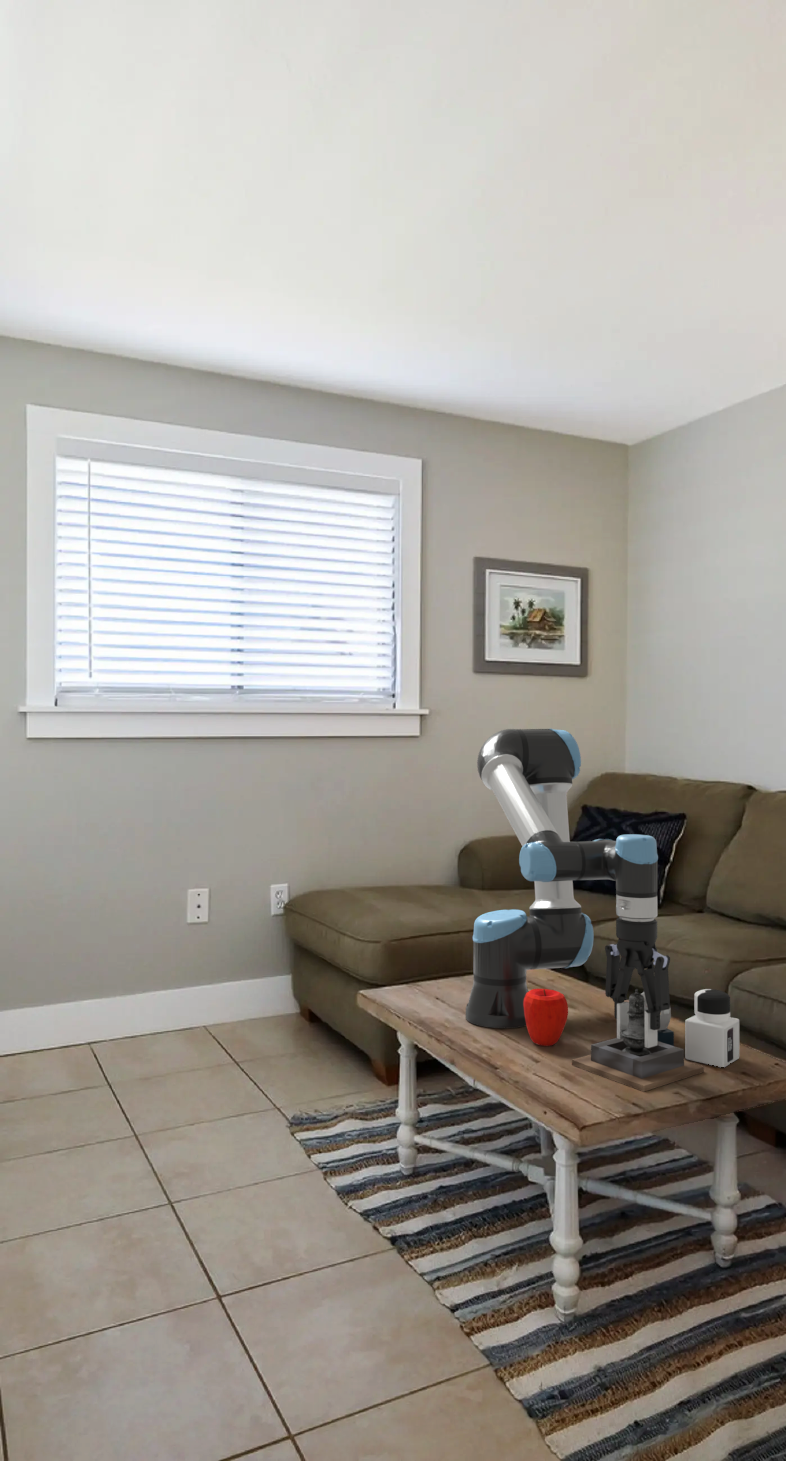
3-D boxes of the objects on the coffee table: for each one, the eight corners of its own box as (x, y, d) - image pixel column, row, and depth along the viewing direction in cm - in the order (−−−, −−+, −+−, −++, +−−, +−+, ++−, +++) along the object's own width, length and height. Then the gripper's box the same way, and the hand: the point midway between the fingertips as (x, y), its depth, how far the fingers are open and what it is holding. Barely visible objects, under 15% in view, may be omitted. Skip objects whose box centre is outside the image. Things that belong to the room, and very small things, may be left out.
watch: (656, 1038, 197) (656, 984, 197) (678, 1050, 189) (678, 994, 189) (632, 1040, 195) (632, 986, 195) (654, 1052, 188) (654, 996, 188)
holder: (571, 1065, 180) (571, 1044, 180) (631, 1048, 190) (631, 1028, 190) (643, 1091, 166) (643, 1068, 166) (703, 1072, 176) (703, 1050, 176)
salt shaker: (618, 1055, 177) (618, 990, 177) (623, 1046, 182) (623, 983, 182) (650, 1059, 174) (650, 994, 175) (654, 1050, 180) (654, 986, 180)
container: (740, 1059, 184) (739, 991, 184) (723, 1069, 178) (723, 999, 178) (701, 1050, 189) (701, 984, 189) (684, 1060, 183) (684, 992, 184)
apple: (574, 1041, 195) (573, 988, 195) (557, 1052, 187) (557, 997, 188) (533, 1034, 200) (533, 982, 200) (516, 1045, 192) (516, 991, 192)
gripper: (585, 912, 184) (585, 1033, 184) (664, 928, 169) (665, 1059, 169) (611, 908, 189) (611, 1026, 188) (691, 923, 173) (691, 1051, 173)
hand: (636, 1041), depth 178 cm, fingers closed on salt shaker, 6 cm apart
